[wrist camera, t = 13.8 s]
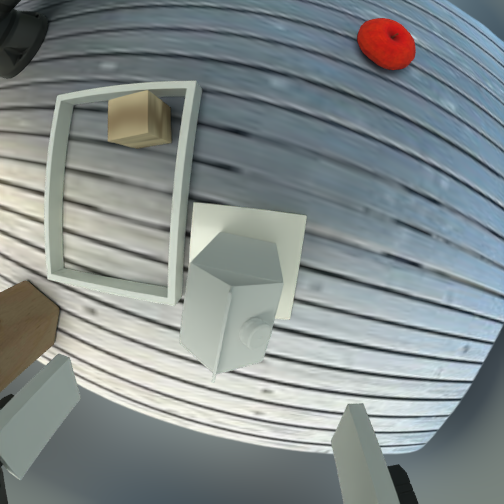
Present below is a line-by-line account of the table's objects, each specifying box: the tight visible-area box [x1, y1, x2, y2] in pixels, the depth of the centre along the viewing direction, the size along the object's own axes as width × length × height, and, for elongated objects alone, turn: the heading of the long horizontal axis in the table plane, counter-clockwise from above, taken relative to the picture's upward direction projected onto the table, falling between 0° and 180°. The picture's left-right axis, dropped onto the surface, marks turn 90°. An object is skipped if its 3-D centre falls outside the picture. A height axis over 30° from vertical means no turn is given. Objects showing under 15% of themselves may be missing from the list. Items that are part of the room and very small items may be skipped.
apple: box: [357, 18, 415, 70], centre depth 26 cm, size 8×8×7 cm
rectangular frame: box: [44, 81, 202, 306], centre depth 34 cm, size 28×22×4 cm
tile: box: [189, 202, 307, 320], centre depth 36 cm, size 14×14×1 cm
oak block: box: [108, 90, 172, 149], centre depth 30 cm, size 5×5×8 cm
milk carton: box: [179, 232, 284, 383], centre depth 27 cm, size 7×7×19 cm
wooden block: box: [0, 281, 59, 392], centre depth 31 cm, size 10×10×20 cm
